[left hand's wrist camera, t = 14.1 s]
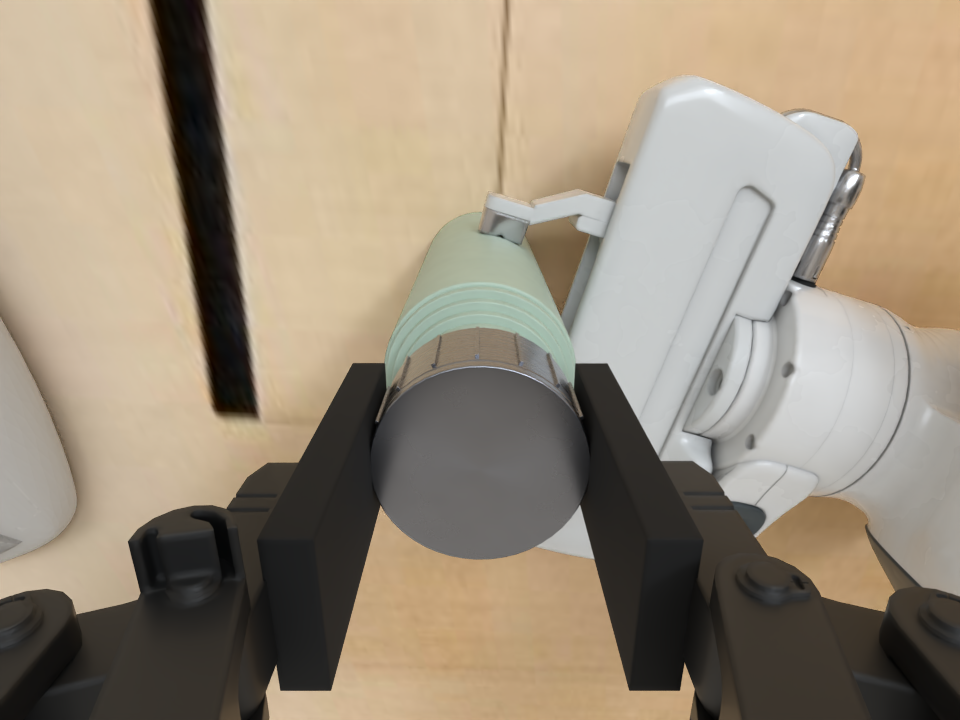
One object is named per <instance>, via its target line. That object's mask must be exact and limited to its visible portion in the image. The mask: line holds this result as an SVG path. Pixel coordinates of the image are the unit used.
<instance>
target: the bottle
mask: <svg viewBox="0 0 960 720" xmlns="http://www.w3.org/2000/svg"><path fill="white" fill-rule="evenodd" d="M481 215H482V212H475V213H469V214H465V215H462V216H459V217H457V218H455V219H453V220H451V221H450V222H449V223H447V224H446V225H445V226H444V227H443V228H442V229H441V230H440V231H439V232H438V233H437V235H436V236H435V238H434V240H433V241H432V244H431V246H430V248H429V250H428V253H427V255H426V257H425V260H424V262H423V264H422V267H421V269H420V271H419V274H418V276H417V278H416V281H415V283H414V285H413V287H412V290H411V292H410V294H409V297H408V299H407V301H406V304H405V306H404V308H403V311H402V313H401V315H400V317H399V320H398V322H397V324H396V327H395V329H394V331H393V334H392V336H391V338H390V341H389V343H388V347H387V350H386V355H385V362H384V363H385V370H386V386H387V387H388V386H390V387H391V384H392V382H393V380H394V378H395V376H396V374H397V372H398V370H399V369H400V368H401V366H402V365H403V363H404V362H405V359H406V357H407V356H409V357H410V356H411V355H412V354H413V353H414V352H415V351H416V350H417V349H419V348H420V347H421V346H422V345H424V344H426V343H427V342H429V341H431V340H432V339H434V338H436V337H437V335H443V334H446V333H449V332H453V331H456V330H461V329H467V328H476V327H479V328H493V329H500V330H504V331H508V332H512V333H514V334H515V333H518V334H519V335H520V336H522V337H524V338H526V339H528V340H530V341H532V342H534V343H535V344H536V345H538V346H539V347H541V348H542V349H543V350H545V351H546V352H547V353H548V352H549V353H551V355H552V358H553V359H554V360H555V362H556V363H557V364H558V365H559V366H560V368H561V370H562V371H563V373H564V375H565V376H566V378H567V381H568V382H571V383H572V386H573V389H574V377H575V363H576V359H575V353H574V349H573V346H572V343H571V339H570V337H569V335H568V333H567V330H566V328H565V326H564V323H563V321H562V319H561V316H560V314H559V312H558V309H557V307H556V305H555V303H554V300H553V298H552V296H551V293H550V291H549V289H548V286H547V284H546V282H545V279H544V277H543V275H542V273H541V270H540V268H539V266H538V263H537V261H536V259H535V256H534V254H533V252H532V249H531V247H530V245H529V243H528V241H527V239H526V237H525V236H524V239H523V242H522V245H520V244H517V243H513V242H510V241H508V240H506V239H504V238H503V236H502V235H498V236H491V235H487V234H484V233H482V232H480V231H478V227H479V223H480V219H481Z"/></svg>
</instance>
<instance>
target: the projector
mask: <svg viewBox="0 0 960 720" xmlns="http://www.w3.org/2000/svg"><path fill="white" fill-rule="evenodd" d="M76 507H77V495H76V489H75V485H74V481H73V478H72V474H71V470H70V467H69V464H68V461H67V458H66V455H65V452H64V450H63V447H62V444H61V441H60V439H59V436H58V434H57V431H56V429H55V426H54V424H53V421H52V419H51V416H50V414H49V411H48V409H47V407H46V405H45V402H44V400H43V398H42V396H41V394H40V391H39V389H38V387H37V385H36V382H35V380H34V378H33V376H32V374H31V373H30V371H29V369H28V367H27V365H26V363H25V361H24V359H23V357H22V355H21V353H20V351H19V349H18V347H17V345H16V344H15V342H14V340H13V338H12V337H11V335H10V333H9V331H8V329H7V328H6V326H5V324H4V322H3V321H2V319H1V317H0V563H1V562H4V561H7V560H10V559H13V558H15V557H18V556H21V555H23V554H26V553H28V552H31V551H33V550H35V549H37V548H39V547H41V546H43V545H45V544H47V543H48V542H50V541H51V540H53V539H54V538H55V537H57V536H58V535H59V534H60V533H61V532H62V531H63V530H64V529H65V528H66V527H67V525H68V524H69V522H70V521H71V519H72V517H73V515H74V513H75V511H76Z"/></svg>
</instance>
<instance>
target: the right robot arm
mask: <svg viewBox="0 0 960 720" xmlns="http://www.w3.org/2000/svg"><path fill="white" fill-rule="evenodd" d="M849 158H850V161H849V166H848V169H844V168H845V166H846V164H847V162H848V160H849ZM861 162H862V147H861V143H860V140H859V138H858V134H857V132H856V131H855V130H854V129H853V128H852V127H851V126H849V125H848V124H847V123H845V122H843V121H842V120H839V119H836V118H833V117H830V116H827V115H824V114H821V113H818V112H815V111H813V110H809V109H792V110H788V111H785V112H782V113H778V112H776V111H774V110H773V109H771V108H769V107H767V106H765V105H763V104H761V103H760V102H758V101H756V100H754V99H752V98H750V97H748V96H746V95H743V94H741V93H739V92H737V91H735V90H733V89H730V88H728V87H725V86H723V85H721V84H718V83H716V82H713V81H711V80H708V79H705V78H702V77H699V76H695V75H680V76H675V77H672V78H669V79H667V80H665V81H662V82H660V83H658V84H656V85H655V86H653V87H651V88H649V89H647V90H645V91H644V92H643V93H642V94H641V95H640V97H639V99H638V101H637V104H636V106H635V109H634V112H633V115H632V118H631V120H630V123H629V126H628V129H627V132H626V134H625V137H624V140H623V143H622V146H621V148H620V151H619V154H618V157H617V159H616V162H615V165H614V168H613V171H612V173H611V176H610V179H609V182H608V185H607V187H606V190H605V193H604V196H600V195H597V194H593V193H590V192H587V191H584V190H580V189H575V190H571V191H567V192H563V193H559V194H555V195H551V196H547V197H543V198H539V199H535V200H531V203H527V202H524V201H521V200H518V199H514V198H511V197H508V196H505V195H501V194H498V193H493V192H488V194H487V198H486V201H485V204H484V208H483V212H482V215H481V219H480V223H479V227H478V231H480V232H482V233H484V234H487V235H491V236H498V235H502V236H503V238H504V239H506V240H508V241H510V242H513V243H517V244H520V245H522V242H523V239H524V236H525V233H526V230H527V227H528V224H529V225H533V224H538V223H542V222H546V221H551V220H555V219H560V218H564V217H568V216H569V218H568V220H569V222H570V223H571V224H572V225H573V226H574V227H575V228H576V229H577V230H578V231H581V232H585V233H588V234H590V235H589V238H588V241H587V243H586V246H585V249H584V252H583V255H582V257H581V260H580V263H579V266H578V269H577V271H576V274H575V277H574V280H573V283H572V285H571V288H570V291H569V294H568V297H567V299H566V302H565V305H564V308H563V311H562V313H561V319H562V321H563V323H564V326H565V328H566V330H567V333H568V335H569V337H570V339H571V343H572V346H573V349H574V353H575V359H576V363H608V365H609V367H610V369H611V371H612V373H613V374H614V376H615V378H616V380H617V382H618V383H619V385H620V387H621V389H622V391H623V393H624V394H625V396H626V398H627V400H628V402H629V404H630V405H631V407H632V409H633V411H634V413H635V415H636V416H637V418H638V420H639V422H640V424H641V426H642V427H643V429H644V431H645V433H646V435H647V437H648V438H649V440H650V442H651V444H652V446H653V448H654V449H655V451H656V453H657V455H658V457H659V459H660V460H661V461H693V462H695V463H696V464H698V465H699V466H701V467H702V468H703V469H705V470H706V471H708V472H709V473H711V474H712V475H713V476H714V477H715V479H716V480H717V482H718V483H719V485H720V486H721V488H722V489H723V491H724V492H725V496H727V497H728V498H729V499H730V501H731V502H732V504H733V505H734V510H737V511H738V513H739V514H740V516H741V517H742V519H743V520H744V522H745V523H746V525H747V526H748V528H749V529H750V531H751V532H752V534H753V535H754V536H755V538H756V537H757V536H758V535H759V534H760V533H762V532H763V531H764V530H765V529H766V528H767V527H769V526H770V525H771V524H772V523H773V522H774V521H776V520H777V519H778V518H780V517H781V516H782V515H783V514H785V513H786V512H787V511H789V510H790V509H792V508H793V507H794V506H796V505H797V504H799V503H800V502H801V501H803V500H804V499H805V498H807V497H808V496H811V497H831V498H837V499H841V500H844V501H847V502H849V503H851V504H853V505H854V506H856V507H857V508H858V509H860V510H861V511H862V512H864V513H865V515H866V516H867V518H868V524H866V525H865V529H866V532H867V535H868V538H869V541H870V544H871V546H872V548H873V550H874V552H875V554H876V556H877V558H878V560H879V562H880V564H881V566H882V568H883V569H884V571H885V573H886V575H887V577H888V579H889V581H890V582H891V584H892V586H893V588H894V590H895V592H896V591H897V590H898V589H903V588H909V587H923V588H932V589H938V590H941V591H945V592H947V593H951V594H954V595H957V596H960V331H959V330H955V329H948V328H938V327H932V328H920V327H915V326H912V325H910V324H908V323H907V322H906V321H905V320H903V319H902V318H901V317H899V316H898V315H896V314H894V313H893V312H891V311H889V310H888V309H885V308H883V307H881V306H878V305H875V304H873V303H869V302H866V301H862V300H859V299H856V298H853V297H849V296H846V295H843V294H840V293H836V292H833V291H830V290H827V289H823V288H821V287H818V286H816V285H815V283H816V281H817V279H818V277H819V275H820V273H821V271H822V269H823V267H824V265H825V263H826V261H827V259H828V257H829V255H830V253H831V251H832V249H833V246H834V244H835V240H836V238H837V236H838V235H837V233H839V230H840V228H839V227H840V226H841V225H842V223H843V220H844V219H845V217H846V215H847V213H848V211H849V209H852V208H853V206H854V205H855V203H856V201H857V199H858V197H859V195H860V193H861V191H862V188H863V185H864V181H865V175H864V174H863V173H859V171H860V167H861ZM535 547H538V548H541V549H545V550H549V551H554V552H558V553H563V554H567V555H572V556H577V557H583V558H588V559H594V556H593V552H592V548H591V544H590V541H589V537H588V533H587V529H586V526H585V522H584V518H583V514H582V510H581V507H580V505H579V507H578V509H577V510H576V512H575V513H574V515H573V516H572V518H571V519H570V520H569V521H568V522H567V523H566V524H565V525H564V526H563V528H562V529H560V530H559V531H558V532H557V533H556V534H554V535H553V536H552V537H550V538H549V539H547V540H546V541H544V542H543V543H541V544H539V545H537V546H535ZM594 560H595V559H594Z"/></svg>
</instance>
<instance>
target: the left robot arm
mask: <svg viewBox="0 0 960 720" xmlns="http://www.w3.org/2000/svg"><path fill="white" fill-rule="evenodd" d="M386 390H387V386H386V370H385V363H353V364H352V366H351V368H350V370H349V371H348V373H347V375H346V377H345V379H344V381H343V382H342V384H341V386H340V388H339V390H338V392H337V393H336V395H335V397H334V399H333V401H332V403H331V404H330V406H329V408H328V410H327V412H326V414H325V415H324V417H323V419H322V421H321V423H320V425H319V426H318V428H317V430H316V432H315V434H314V436H313V437H312V439H311V441H310V443H309V445H308V447H307V448H306V450H305V452H304V454H303V456H302V458H301V459H300V461H299V463H267V464H266V465H264V466H263V467H261V468H260V469H259V470H257V471H256V472H254V473H253V474H252V475H250V476H249V477H247V479H246V480H245V482H244V483H243V485H242V486H241V488H240V489H239V491H238V492H237V494H236V498H233V500H232V501H231V503H230V504H229V506H228V507H227V509H224V508H220V507H217V506H213V505H207V506H190V507H186V508H181V509H177V510H173V511H170V512H168V513H166V514H163V515H161V516H158V517H156V518H154V519H152V520H151V521H149V522H148V523H146V524H145V525H143V526H142V527H140V528H139V529H138V530H137V531H136V532H135V533H134V535H133V536H132V537H131V538H130V540H129V541H128V544H129V548H130V552H131V556H132V560H133V564H134V568H135V572H136V576H137V580H138V584H139V588H140V592H141V594H140V596H139V598H138V600H135V601H132V602H129V603H125V604H122V605H117V606H113V607H108V608H104V609H99V610H95V611H90V612H86V613H81V614H77V615H76V612H75V609H74V605H73V602H72V600H71V599H70V598H69V597H68V596H67V595H66V594H65V593H64V592H61V591H55V590H49V589H43V590H34V591H26V592H22V593H19V594H15V595H13V596H9V597H6V598H3V599H1V600H0V720H269V711H268V703H267V697H266V690H267V687H268V684H269V682H270V679H271V676H272V674H273V671H274V669H275V666H276V665H277V672H278V678H279V684H280V691H331V689H332V685H333V681H334V678H335V674H336V670H337V666H338V663H339V659H340V655H341V651H342V647H343V644H344V640H345V636H346V632H347V629H348V625H349V621H350V617H351V614H352V610H353V606H354V602H355V599H356V595H357V591H358V587H359V584H360V580H361V576H362V572H363V568H364V565H365V561H366V557H367V553H368V550H369V546H370V542H371V538H372V535H373V531H374V527H375V523H376V520H377V516H378V512H379V508H380V503H379V501H378V499H377V496H376V494H375V492H374V489H373V485H372V476H371V462H370V447H371V442H372V438H373V435H374V432H375V430H376V427H377V425H376V424H374V423H375V420H376V417H377V415H378V412H379V409H380V407H381V404H382V401H383V398H384V396H385V393H386ZM574 391H575V394H576V397H577V400H578V403H579V405H580V408H581V411H582V414H583V417H584V419H583V420H582V422H583V425H584V428H585V431H586V434H587V437H588V441H589V445H590V469H589V482H588V487H587V490H586V493H585V496H584V498H583V500H582V502H581V504H580V507H581V510H582V514H583V518H584V522H585V526H586V529H587V533H588V537H589V541H590V544H591V548H592V552H593V556H594V559H595V563H596V567H597V571H598V574H599V578H600V582H601V586H602V589H603V593H604V597H605V601H606V605H607V608H608V612H609V616H610V620H611V623H612V627H613V631H614V635H615V638H616V642H617V646H618V650H619V653H620V657H621V661H622V665H623V668H624V672H625V676H626V680H627V684H628V687H629V691H680V687H681V681H682V674H683V668H684V662H685V664H686V667H687V670H688V672H689V675H690V677H691V680H692V683H693V685H694V688H695V691H694V697H693V703H692V709H691V715H690V720H960V596H957V595H954V594H951V593H947V592H945V591H941V590H938V589H932V588H923V587H909V588H903V589H898V590H897V591H896V592H895V593H894V594H893V595H891V596H890V597H889V601H888V604H887V607H886V610H885V612H882V611H877V610H873V609H868V608H864V607H859V606H855V605H850V604H846V603H841V602H837V601H834V600H830V599H827V598H824V597H821V595H820V592H819V591H818V590H817V588H816V587H815V585H814V584H813V582H812V581H811V579H810V578H808V577H807V576H806V575H805V574H803V573H802V572H801V571H799V570H798V569H797V568H796V567H794V566H792V565H790V564H788V563H785V562H783V561H781V560H779V559H777V558H774V557H770V556H767V554H766V553H765V551H764V550H763V548H762V547H761V545H760V544H759V542H758V541H757V539H756V538H755V536H754V535H753V534H752V532H751V531H750V529H749V528H748V526H747V525H746V523H745V522H744V520H743V519H742V517H741V516H740V514H739V513H738V511H737V510H734V505H733V504H732V502H731V501H730V499H729V498H728V497H727V496H725V492H724V491H723V489H722V488H721V486H720V485H719V483H718V482H717V480H716V479H715V477H714V476H713V475H712V474H711V473H709V472H708V471H706V470H705V469H703V468H702V467H701V466H699V465H698V464H696V463H695V462H693V461H661V460H660V459H659V457H658V455H657V453H656V451H655V449H654V448H653V446H652V444H651V442H650V440H649V438H648V437H647V435H646V433H645V431H644V429H643V427H642V426H641V424H640V422H639V420H638V418H637V416H636V415H635V413H634V411H633V409H632V407H631V405H630V404H629V402H628V400H627V398H626V396H625V394H624V393H623V391H622V389H621V387H620V385H619V383H618V382H617V380H616V378H615V376H614V374H613V373H612V371H611V369H610V367H609V365H608V363H575V377H574Z"/></svg>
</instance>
